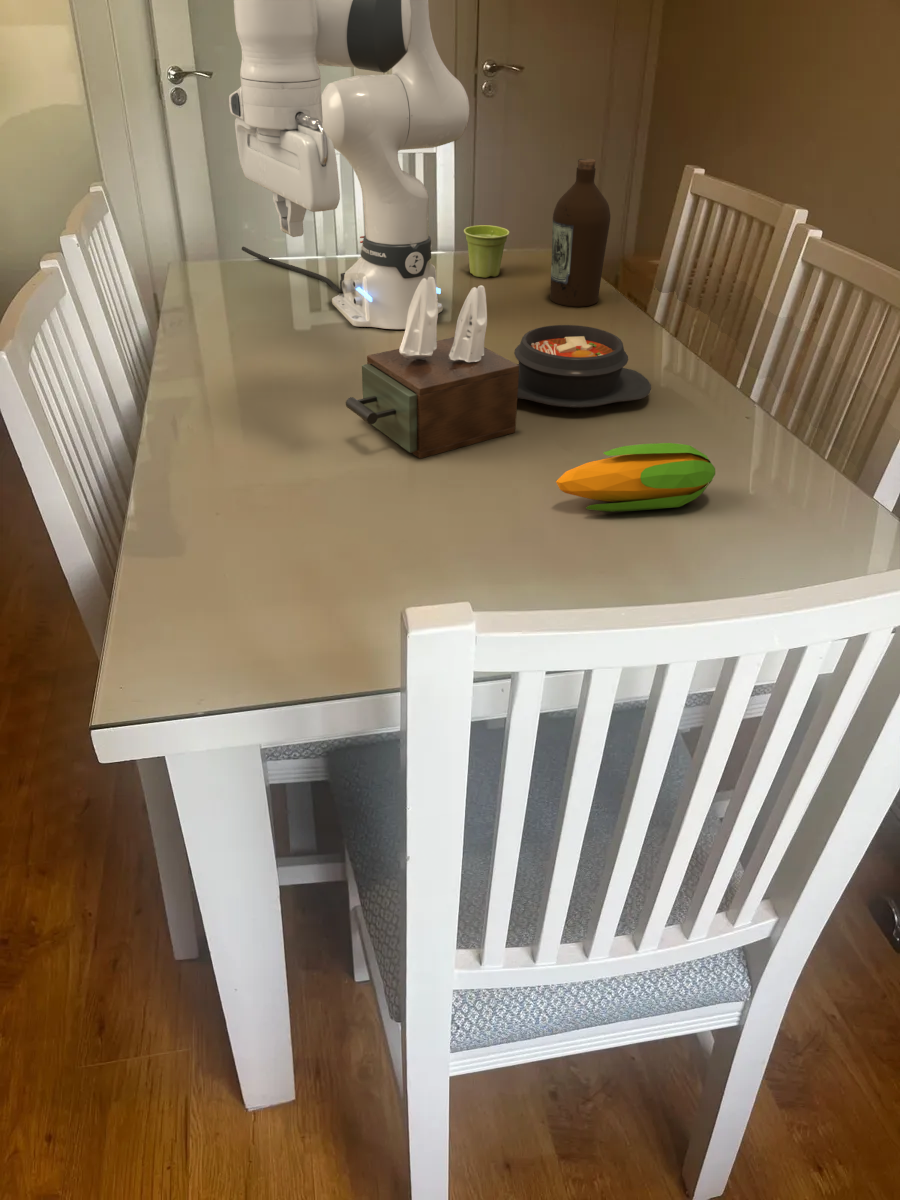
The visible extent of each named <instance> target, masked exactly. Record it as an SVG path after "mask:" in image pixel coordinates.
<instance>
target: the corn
mask: <svg viewBox="0 0 900 1200" xmlns="http://www.w3.org/2000/svg"><path fill="white" fill-rule="evenodd" d="M602 453H603V454H604V455H605V456H608V457H606V458H603V459H598V460H593V461H588V462H585V463H583V464H581V465H578V466H576V467H573V468H571V469H568V470H566V471H564V473H562V475H561V476H560V477H559V478H558V479H557V480H556V481H555V484H556V485H557V487H558V489H559V490H560V491H561V492H563V493H564V494H567V495H572V496H576V497H580V498H584V499H588V500H593V501H594V500H595V501H602V502H606V503H596V504H595V503H594V504H590V505H587V506H586V507H585V510H589V511H590V510H591V511H600V512H611V513H613V512H635V511H648V510H661V509H671V508H672V509H673V508H680V507H683V506H684V505H686V504H689V503H690V502H693V501H694V500H696V499H697V498H699V497H700V496H701V495H702V494H703V493H704V491H705V490H706V489H707V488H708V487H709V485H710V484H711V483H712V481H713V480H714V477H715V476H716V468H715V466H714V465H713V464H712V462H711V460H710V459H709V457H708V456H707V455H706V454H705V453H703V452H702V451H700V450H698V449H696V448H695V447H693V446H692V445H691V444H690V445H689V444H683V443H674V442H656V443H640V444H632V445H630V444H629V445H623V446H619V447H616V448H615V447H614V448H612V449H609V450H607V451H603V452H602Z"/></svg>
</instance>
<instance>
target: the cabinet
mask: <svg viewBox="0 0 900 1200" xmlns="http://www.w3.org/2000/svg"><path fill="white" fill-rule="evenodd" d="M454 337H455V336H454ZM454 337H448V338H445V339H438V340H437V348H436V350H434V351H433V354H432V356H431V357H430V358H426V359H408V358H405V357H404V356H403V355H402V354H400V352H399V349H400V348H396V349H392V350H387V351H382V352H377V353H373V354H368V355H366V364H370V365H372V366H373V367H375V368H377V369H378V370H380V371H383V372H384V373H386V374H387V375H389V376H390V377H392V378H394V379H395V380H397V381H398V382H400V383H401V384H403V385H404V386H406V387H408V388H409V389H411V390H412V391H414V392H415V393H416V394H417V451H414V452H411V453H412V454H413V455H414V456H416V457H417V458H418V459H423V458H428V457H431V456H434V455H438V454H442V453H446V452H449V451H452V450H453V451H454V450H457V449H460V448H463V447H467V446H472V445H475V444H477V443H482V442H485V441H489V440H492V439H493V440H494V439H495V438H499V437H504V436H507V435H511V434H514V433H516V424H517V408H518V398H517V394H518V378H519V365H517V364H518V363H515V362H513V361H512V360H509V359H508V358H505V357H503V356H502V355H500V354H498V353H496V352H494V351H493V350H490V349H488V348H487V347H485V346H484V356H481V359H480V360H479V361H477V362H466V361H465V360H455V361H454V360H450V358H449V354H450V351H451V348H452V345H453V343H454ZM471 354H472V353H471Z"/></svg>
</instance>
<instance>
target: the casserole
mask: <svg viewBox="0 0 900 1200" xmlns="http://www.w3.org/2000/svg"><path fill="white" fill-rule="evenodd" d="M513 354H514V357H515V359H516V360H517V361H518V363H516V364H517V365H519V378H518V394H517V399H518V400H519V399H520V400H527V401H530V402H534V403H535V402H536V403H538V404H542V405H547V406H553V407H558V408H566V409H567V408H568V409H580V408H581V409H582V408H583V409H584V408H594V407H601V406H606V405H610V404H613V403H623V402H633V401H638V400H642V399H645V398H646V397H647V396H649V395H650V393H651V391H652V384H651V382H650V381H649V379H648V378H646V376H644V374H642V373H640V372H638V371H637V370H635V369H630V368H627V367H625V366H626V365H628V362H629V355H628V353H627V352H626V351H625V348H624V343H623V341H622V339H621V338H620V337H618V336H617V335H616V334H613V333H611V332H609V331H607V330H603V329H600V328H598V327H597V328H596V327H591V326H587V325H586V326H585V325H576V324H574V325H573V324H555V325H545V326H540V327H535V328H534V329H530V330H529V331H527V332H526V333H524V335H523V336H522V338H521V340H520V342H519V344H518V345H517V346H516V347H515V348H514V352H513Z"/></svg>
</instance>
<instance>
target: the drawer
mask: <svg viewBox="0 0 900 1200" xmlns="http://www.w3.org/2000/svg"><path fill="white" fill-rule="evenodd" d="M361 384H362V385H361V386H362V387H361V388H362V398H360V399H356V398H355V397H354V396H349V397H348V398H347V399H346V400H345V407H346V408H347V409H348V410H350V412H353V413H354V414H355V415H356V416H357V417H359V418H361V419H362V420H363V421H365V422H366V423H368V424H369V425H372V426H373V427H374V428H375V429H376V430H378V431H380V432H381V433H382V434H384V435H385V436H387V437H388V438H389V439H391V440H392V441H393V442H394V443H396V444H398V446H400V447H401V448H402V449H404V450H405V451H407V452H408V453H412V452H414V451H417V394H416V393H415V392H414V391H412V390H411V389H409V388H408V387H406V386H404V385H403V384H401V383H400V382H398V381H397V380H395V379H394V378H392V377H390V376H389V375H387V374H386V373H384V372H383V371H380V370H378V369H377V368H375V367H373V366H372V365H370V364H367V363H365V364H361Z"/></svg>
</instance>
